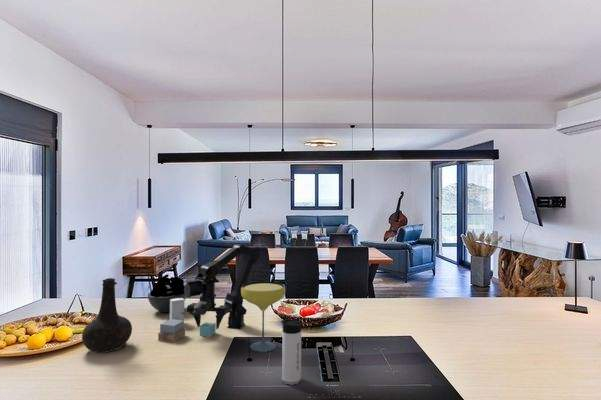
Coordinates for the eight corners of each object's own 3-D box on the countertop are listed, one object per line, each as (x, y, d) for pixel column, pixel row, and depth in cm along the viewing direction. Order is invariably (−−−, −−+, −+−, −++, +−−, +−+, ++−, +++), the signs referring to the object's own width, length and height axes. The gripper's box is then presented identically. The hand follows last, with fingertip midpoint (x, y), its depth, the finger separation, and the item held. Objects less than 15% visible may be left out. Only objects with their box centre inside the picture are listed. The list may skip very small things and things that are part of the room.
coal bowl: (179, 317, 188) (179, 280, 188) (140, 316, 188) (141, 280, 188) (191, 306, 208) (191, 273, 208) (156, 305, 208) (156, 272, 208)
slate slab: (183, 328, 162) (183, 320, 162) (173, 334, 156) (173, 325, 156) (170, 326, 164) (170, 319, 164) (160, 332, 158) (160, 324, 158)
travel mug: (280, 376, 125) (281, 317, 125) (300, 375, 125) (300, 317, 125) (281, 385, 118) (281, 324, 119) (301, 385, 119) (302, 323, 119)
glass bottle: (80, 361, 136) (81, 285, 136) (83, 344, 152) (84, 276, 152) (133, 352, 144) (133, 281, 144) (130, 337, 160) (131, 273, 160)
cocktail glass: (291, 342, 156) (291, 283, 156) (274, 359, 138) (275, 293, 139) (253, 336, 161) (253, 280, 162) (232, 352, 144) (232, 289, 144)
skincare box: (171, 326, 174) (171, 301, 174) (169, 324, 177) (169, 299, 177) (184, 324, 177) (184, 299, 177) (182, 321, 181) (182, 297, 181)
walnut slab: (185, 336, 162) (185, 328, 162) (174, 343, 155) (174, 335, 155) (169, 334, 164) (169, 326, 165) (158, 341, 157) (158, 333, 157)
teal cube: (215, 333, 166) (215, 323, 166) (210, 337, 161) (210, 326, 161) (205, 332, 167) (205, 322, 167) (199, 335, 162) (199, 325, 162)
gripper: (179, 296, 159) (179, 332, 159) (218, 299, 154) (218, 336, 154) (193, 290, 170) (193, 324, 170) (230, 293, 165) (230, 327, 165)
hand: (207, 328), depth 164 cm, fingers open, 9 cm apart
